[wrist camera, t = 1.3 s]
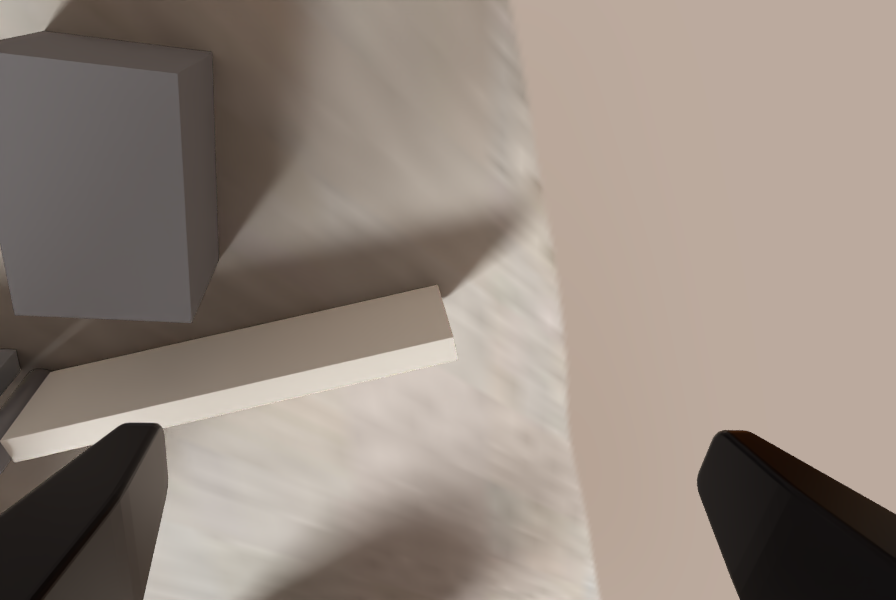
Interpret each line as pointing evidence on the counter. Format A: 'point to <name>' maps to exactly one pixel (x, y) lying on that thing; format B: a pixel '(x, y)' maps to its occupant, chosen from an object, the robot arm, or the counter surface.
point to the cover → (226, 373)
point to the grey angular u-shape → (8, 368)
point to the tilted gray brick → (106, 177)
